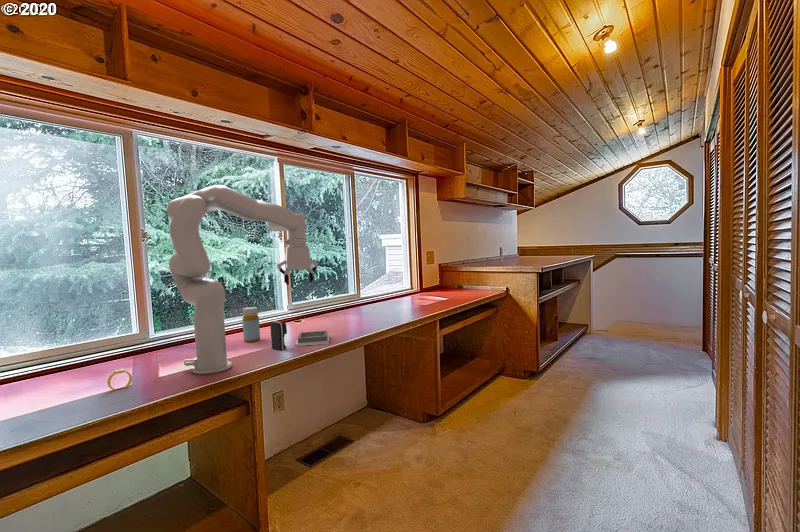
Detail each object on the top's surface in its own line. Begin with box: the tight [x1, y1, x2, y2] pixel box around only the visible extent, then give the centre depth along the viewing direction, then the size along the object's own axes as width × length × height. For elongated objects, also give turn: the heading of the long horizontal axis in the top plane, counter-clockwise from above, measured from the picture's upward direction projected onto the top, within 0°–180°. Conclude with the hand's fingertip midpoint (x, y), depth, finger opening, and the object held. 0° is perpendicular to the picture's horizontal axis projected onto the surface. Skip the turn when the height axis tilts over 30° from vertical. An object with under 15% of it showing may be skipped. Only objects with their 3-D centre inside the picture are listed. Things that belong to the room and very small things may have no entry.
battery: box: [270, 320, 288, 351], centre depth 163 cm, size 7×4×11 cm, turn 52°
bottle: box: [242, 306, 261, 343], centre depth 180 cm, size 7×7×15 cm
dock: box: [295, 330, 331, 348], centre depth 173 cm, size 14×14×3 cm
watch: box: [107, 368, 133, 391], centre depth 122 cm, size 6×3×6 cm, turn 139°
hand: (299, 283), depth 168 cm, fingers open, 9 cm apart
